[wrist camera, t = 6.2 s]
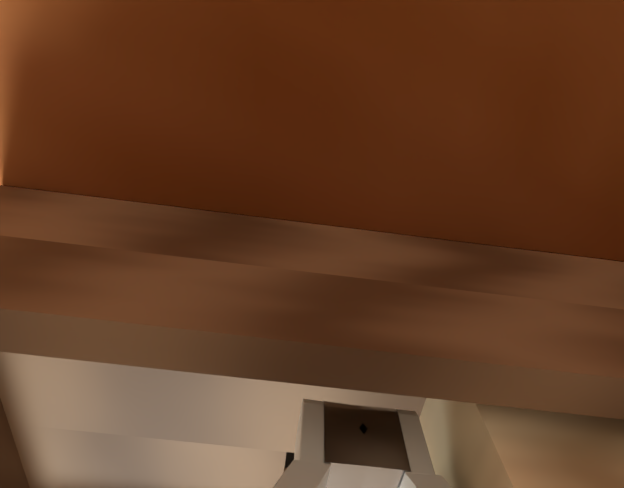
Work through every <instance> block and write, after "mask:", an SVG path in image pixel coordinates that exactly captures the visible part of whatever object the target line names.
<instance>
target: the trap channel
mask: <svg viewBox="0 0 624 488" xmlns="http://www.w3.org/2000/svg"><path fill="white" fill-rule="evenodd" d="M426 398H431V399H440V400H450V401H459V402H468V403H477V404H487V405H496V406H505V407H514V408H523V409H533V410H542V411H551V412H560V413H569V414H579V415H588V416H597V417H606V418H616V419H624V262H620V261H612V260H604V259H596V258H588V257H580V256H572V255H563V254H555V253H547V252H539V251H531V250H523V249H515V248H506V247H498V246H490V245H482V244H474V243H466V242H458V241H450V240H441V239H433V238H425V237H417V236H409V235H401V234H393V233H384V232H376V231H368V230H360V229H352V228H344V227H336V226H328V225H319V224H311V223H303V222H295V221H287V220H279V219H271V218H262V217H254V216H246V215H238V214H230V213H222V212H214V211H206V210H197V209H189V208H181V207H173V206H165V205H157V204H149V203H140V202H132V201H124V200H116V199H108V198H100V197H92V196H84V195H75V194H67V193H59V192H51V191H43V190H35V189H27V188H18V187H10V186H2V185H1V186H0V488H273V486H274V485H275V484H276V482H277V481H278V480H279V478H280V477H281V476H282V474H283V473H284V472H285V470H286V469H287V468H288V466H289V465H290V464H291V462H292V461H293V460H294V452H295V443H296V436H297V428H298V422H299V416H300V410H301V404H302V400H303V399H310V400H318V401H322V402H323V401H327V402H335V403H342V404H349V405H361V406H371V407H381V408H391V409H399V410H408V411H416V413H417V414H418V416H419V417H420V415H421V412H422V409H423V406H424V403H425V401H426Z"/></svg>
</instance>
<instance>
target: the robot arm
mask: <svg viewBox="0 0 624 488" xmlns="http://www.w3.org/2000/svg"><path fill="white" fill-rule="evenodd" d="M273 488H452V487H451V486H450V484H449V483H448V482H447V481H446V480H445V479H444V478H443V477H442V476H441V475H435V472H434V468H433V465H432V461H431V458H430V454H429V451H428V447H427V444H426V440H425V437H424V433H423V430H422V426H421V423H420V419H419V416H418V414H417V413H416V411H408V410H399V409H391V408H381V407H371V406H361V405H349V404H342V403H335V402H327V401H323V402H322V401H318V400H310V399H303V400H302V404H301V410H300V416H299V422H298V428H297V436H296V443H295V452H294V460H293V461H292V462H291V464H290V465H289V466H288V468H287V469H286V470H285V472H284V473H283V474H282V476H281V477H280V478H279V480H278V481H277V482H276V484H275V485H274V486H273Z"/></svg>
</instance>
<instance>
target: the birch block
mask: <svg viewBox="0 0 624 488" xmlns="http://www.w3.org/2000/svg"><path fill="white" fill-rule="evenodd" d="M419 419H420V423H421V426H422V430H423V433H424V437H425V440H426V444H427V447H428V451H429V454H430V458H431V461H432V465H433V468H434V472H435V475H441V476H442V477H443V478H444V479H445V480H446V481H447V482H448V483H449V484H450V486H451V487H452V488H624V419H616V418H606V417H597V416H588V415H579V414H569V413H560V412H551V411H542V410H533V409H523V408H514V407H505V406H496V405H487V404H477V403H468V402H459V401H450V400H440V399H431V398H426V401H425V403H424V406H423V409H422V412H421V415H420V417H419Z"/></svg>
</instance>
